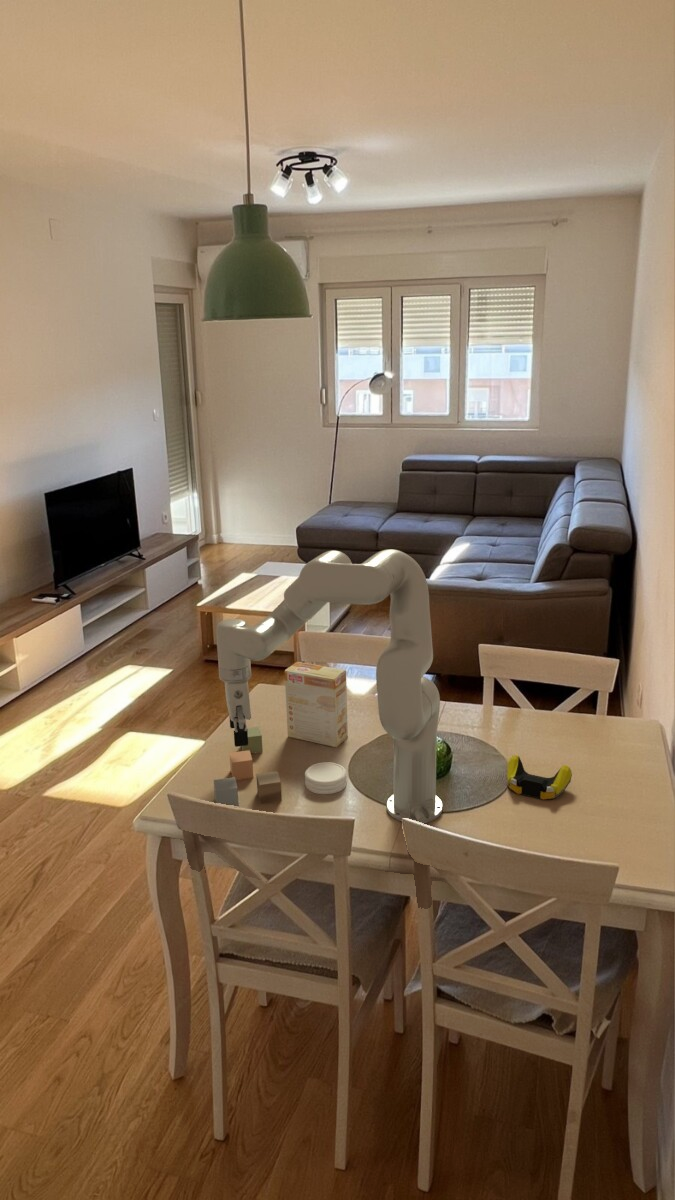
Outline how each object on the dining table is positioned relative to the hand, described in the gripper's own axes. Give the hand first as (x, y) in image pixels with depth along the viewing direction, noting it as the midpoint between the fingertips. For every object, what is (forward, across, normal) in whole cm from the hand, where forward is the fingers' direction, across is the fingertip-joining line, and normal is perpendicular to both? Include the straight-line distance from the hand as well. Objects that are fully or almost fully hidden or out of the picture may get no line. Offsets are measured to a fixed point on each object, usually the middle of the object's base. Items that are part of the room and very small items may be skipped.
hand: (239, 736), depth 201 cm
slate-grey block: (+10, -12, +5) cm, 17 cm away
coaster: (+11, -10, -19) cm, 24 cm away
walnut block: (+10, -12, -5) cm, 17 cm away
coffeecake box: (+11, +14, -22) cm, 28 cm away
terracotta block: (+10, 0, 0) cm, 11 cm away
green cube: (+10, +12, -4) cm, 16 cm away
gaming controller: (+10, -25, -66) cm, 72 cm away
